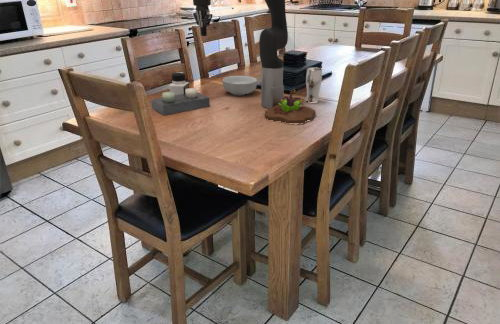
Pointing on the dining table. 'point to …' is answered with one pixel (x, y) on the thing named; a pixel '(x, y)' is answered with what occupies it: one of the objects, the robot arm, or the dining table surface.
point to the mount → (180, 104)
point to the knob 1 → (168, 97)
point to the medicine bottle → (178, 83)
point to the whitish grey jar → (191, 93)
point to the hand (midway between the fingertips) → (203, 35)
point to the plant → (290, 111)
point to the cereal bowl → (239, 84)
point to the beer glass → (313, 83)
